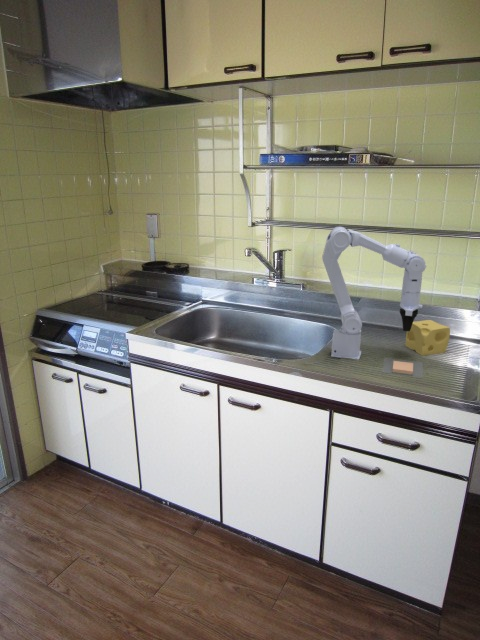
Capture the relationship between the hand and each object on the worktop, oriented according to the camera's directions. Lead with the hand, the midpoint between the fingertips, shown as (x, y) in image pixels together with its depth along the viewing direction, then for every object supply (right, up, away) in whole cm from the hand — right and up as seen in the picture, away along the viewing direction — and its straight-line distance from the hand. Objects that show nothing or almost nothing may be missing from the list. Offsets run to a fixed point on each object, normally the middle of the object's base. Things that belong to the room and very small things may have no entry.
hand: (406, 330), depth 154 cm
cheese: (+10, -8, +10) cm, 16 cm away
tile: (-3, -11, -5) cm, 12 cm away
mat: (-3, -12, -6) cm, 14 cm away
